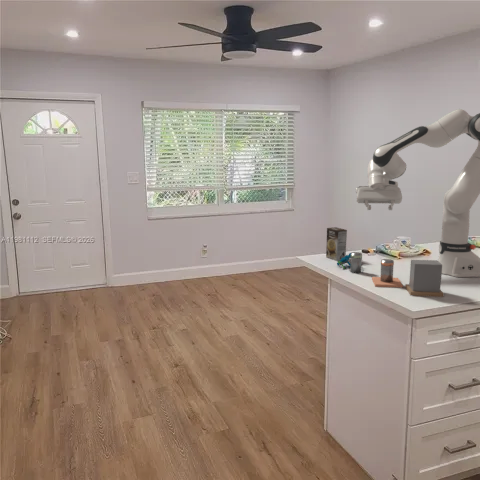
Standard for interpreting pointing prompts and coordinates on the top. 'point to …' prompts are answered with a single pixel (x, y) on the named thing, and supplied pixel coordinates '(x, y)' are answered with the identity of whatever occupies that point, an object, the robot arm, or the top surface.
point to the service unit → (425, 278)
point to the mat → (379, 283)
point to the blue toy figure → (344, 260)
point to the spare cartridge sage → (356, 262)
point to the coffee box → (336, 243)
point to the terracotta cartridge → (387, 270)
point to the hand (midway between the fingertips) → (379, 209)
